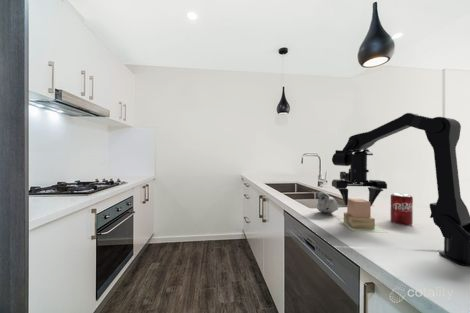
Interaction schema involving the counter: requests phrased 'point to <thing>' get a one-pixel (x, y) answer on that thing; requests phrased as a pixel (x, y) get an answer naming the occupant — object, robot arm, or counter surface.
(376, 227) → the build plate
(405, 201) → the soda can
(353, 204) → the terracotta block
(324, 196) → the grey rounded lump
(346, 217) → the oak block
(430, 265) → the counter surface
